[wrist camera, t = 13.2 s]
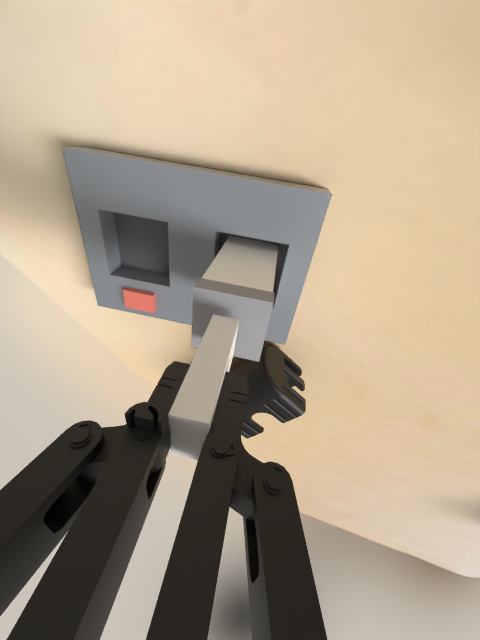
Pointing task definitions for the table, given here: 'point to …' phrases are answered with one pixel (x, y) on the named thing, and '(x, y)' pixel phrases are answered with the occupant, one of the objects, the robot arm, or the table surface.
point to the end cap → (271, 389)
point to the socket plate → (186, 230)
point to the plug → (238, 293)
